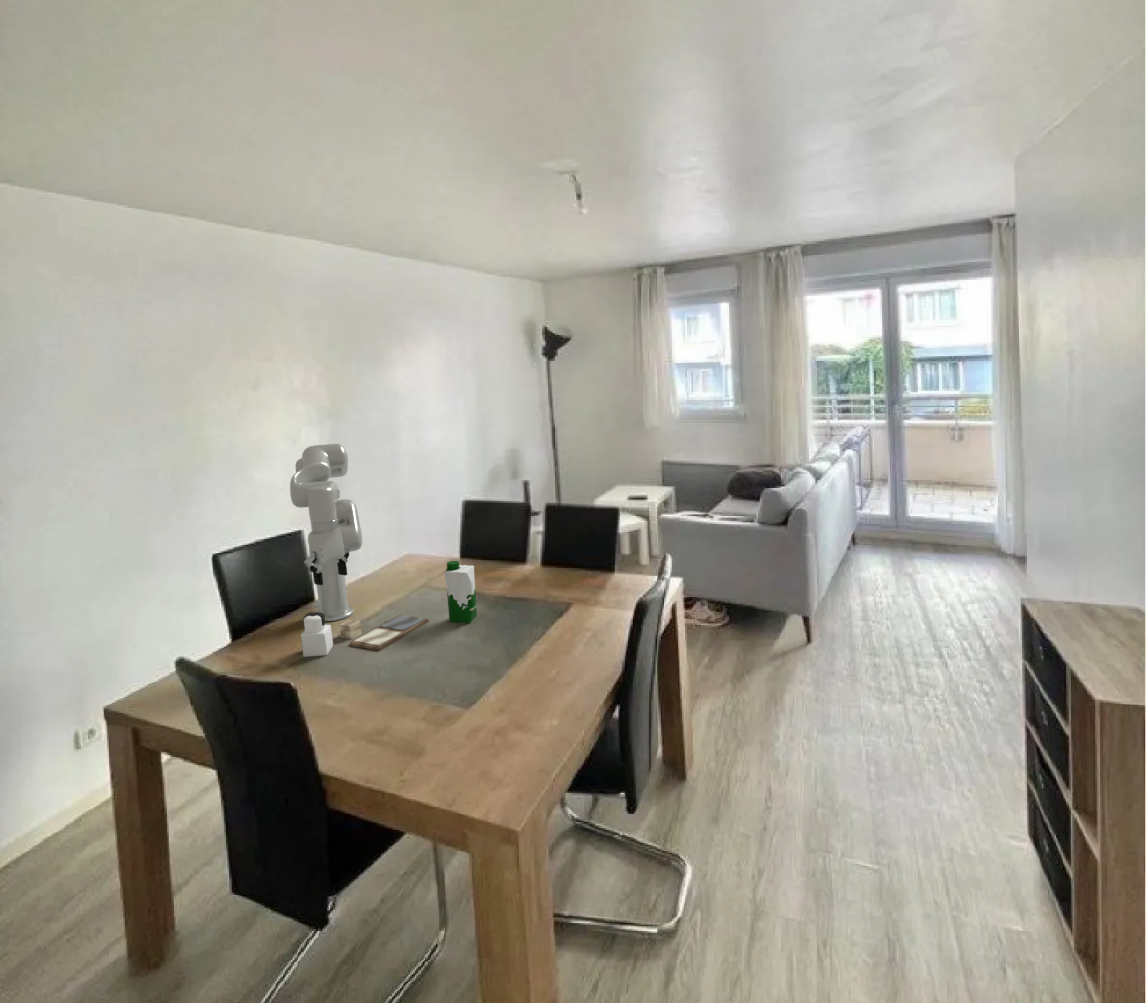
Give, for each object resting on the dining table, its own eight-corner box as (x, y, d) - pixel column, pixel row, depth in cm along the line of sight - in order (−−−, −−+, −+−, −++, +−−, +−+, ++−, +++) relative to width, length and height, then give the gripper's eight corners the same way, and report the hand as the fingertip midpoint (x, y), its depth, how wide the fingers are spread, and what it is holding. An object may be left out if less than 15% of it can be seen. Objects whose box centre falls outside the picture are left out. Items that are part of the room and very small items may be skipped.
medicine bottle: (310, 647, 205) (305, 611, 203) (333, 645, 206) (329, 609, 203) (303, 657, 198) (297, 620, 196) (327, 655, 199) (322, 618, 197)
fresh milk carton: (455, 613, 228) (450, 558, 224) (480, 614, 226) (476, 559, 222) (446, 623, 220) (441, 566, 216) (471, 624, 218) (467, 567, 214)
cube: (341, 637, 212) (339, 624, 211) (351, 632, 216) (349, 619, 215) (351, 639, 210) (350, 626, 209) (361, 634, 214) (360, 621, 213)
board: (349, 645, 206) (349, 641, 206) (400, 617, 227) (399, 613, 227) (380, 650, 201) (379, 646, 201) (428, 621, 222) (428, 618, 222)
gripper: (337, 518, 210) (343, 570, 214) (292, 532, 195) (300, 587, 199) (354, 520, 207) (360, 572, 210) (310, 534, 192) (317, 590, 195)
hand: (331, 579), depth 204 cm, fingers open, 9 cm apart
